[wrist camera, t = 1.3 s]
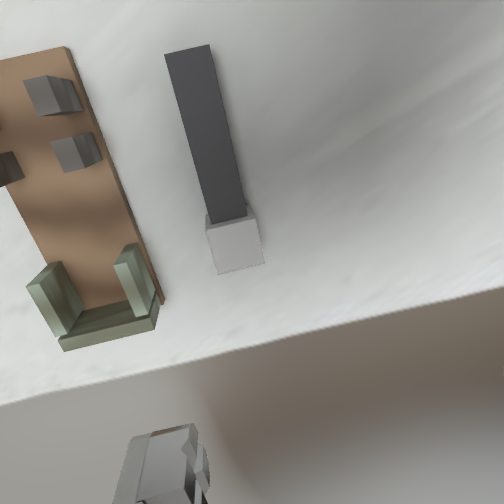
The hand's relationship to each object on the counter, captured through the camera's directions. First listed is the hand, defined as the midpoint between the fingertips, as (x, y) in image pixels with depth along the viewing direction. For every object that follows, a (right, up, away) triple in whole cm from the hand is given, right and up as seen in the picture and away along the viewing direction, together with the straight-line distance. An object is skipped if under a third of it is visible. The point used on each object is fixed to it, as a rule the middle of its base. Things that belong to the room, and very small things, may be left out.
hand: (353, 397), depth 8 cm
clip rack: (-17, +8, +19) cm, 27 cm away
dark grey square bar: (-6, +12, +19) cm, 23 cm away
